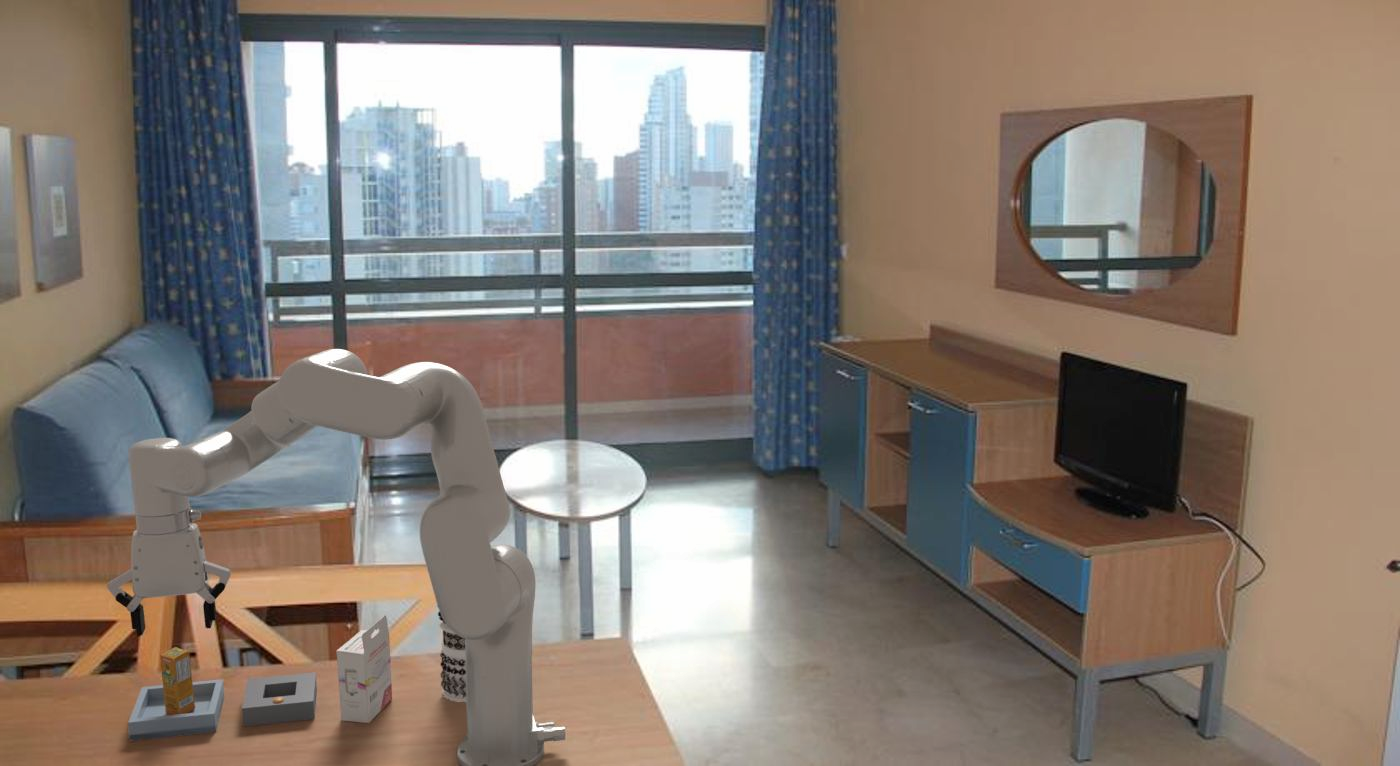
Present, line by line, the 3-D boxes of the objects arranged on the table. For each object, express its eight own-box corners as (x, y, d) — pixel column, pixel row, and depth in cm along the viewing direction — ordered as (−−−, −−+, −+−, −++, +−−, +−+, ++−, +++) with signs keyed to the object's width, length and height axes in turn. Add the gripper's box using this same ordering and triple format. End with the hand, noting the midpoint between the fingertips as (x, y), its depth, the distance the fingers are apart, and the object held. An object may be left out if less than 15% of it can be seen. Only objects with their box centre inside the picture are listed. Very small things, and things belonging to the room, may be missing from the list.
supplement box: (162, 714, 186) (157, 653, 184) (181, 705, 189) (176, 645, 187) (178, 719, 185) (173, 658, 183) (196, 709, 188) (192, 649, 186)
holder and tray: (317, 687, 198) (316, 669, 198) (314, 721, 187) (313, 702, 186) (143, 704, 192) (141, 685, 191) (129, 741, 180) (127, 721, 180)
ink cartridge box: (364, 696, 196) (360, 610, 193) (393, 699, 195) (389, 613, 192) (338, 721, 187) (334, 632, 184) (368, 724, 186) (364, 635, 183)
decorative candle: (448, 676, 203) (444, 534, 198) (502, 680, 202) (500, 537, 197) (431, 701, 194) (426, 553, 189) (488, 705, 193) (484, 556, 188)
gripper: (228, 508, 187) (238, 613, 190) (105, 519, 182) (118, 626, 186) (222, 523, 180) (233, 631, 183) (95, 534, 175) (108, 645, 179)
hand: (175, 628), depth 184 cm, fingers open, 9 cm apart
